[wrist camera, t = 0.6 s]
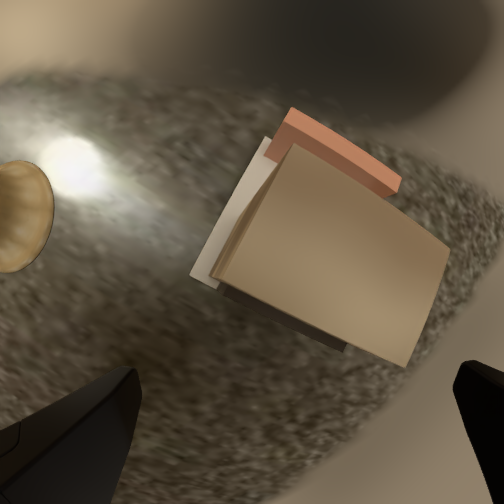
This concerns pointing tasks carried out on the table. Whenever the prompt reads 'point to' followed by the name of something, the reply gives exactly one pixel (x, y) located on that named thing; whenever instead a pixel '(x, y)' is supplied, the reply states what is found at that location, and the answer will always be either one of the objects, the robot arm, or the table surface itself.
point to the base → (267, 158)
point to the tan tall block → (332, 260)
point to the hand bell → (23, 214)
